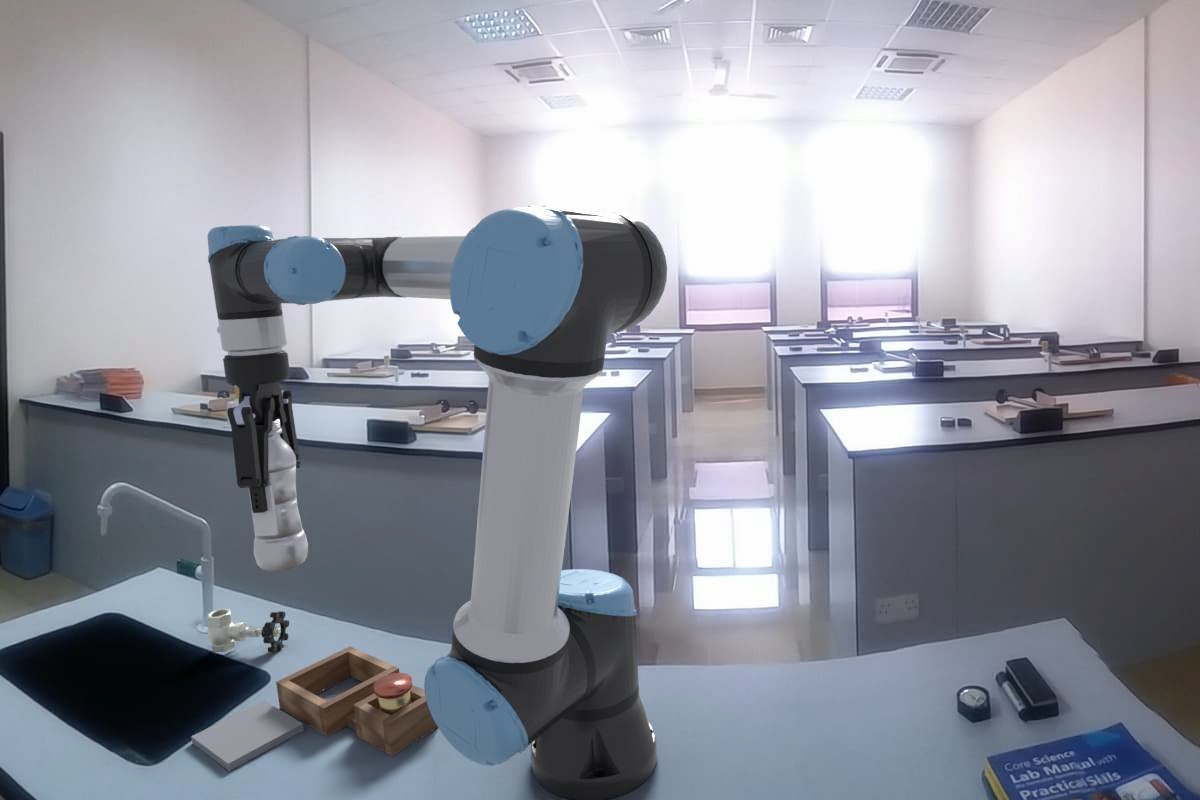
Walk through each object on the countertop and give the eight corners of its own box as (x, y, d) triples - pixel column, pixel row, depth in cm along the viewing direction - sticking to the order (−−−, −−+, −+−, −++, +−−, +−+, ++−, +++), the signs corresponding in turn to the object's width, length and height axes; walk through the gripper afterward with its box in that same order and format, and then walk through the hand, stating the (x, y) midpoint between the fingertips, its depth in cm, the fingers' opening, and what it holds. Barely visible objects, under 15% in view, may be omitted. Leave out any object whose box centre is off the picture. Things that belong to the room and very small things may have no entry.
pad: (303, 730, 102) (302, 723, 102) (229, 771, 94) (228, 763, 94) (265, 706, 108) (264, 700, 108) (192, 743, 101) (191, 736, 100)
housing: (451, 718, 103) (448, 687, 102) (377, 765, 94) (373, 732, 93) (353, 670, 117) (349, 643, 116) (279, 707, 108) (275, 678, 107)
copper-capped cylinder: (424, 725, 101) (419, 679, 100) (394, 744, 97) (388, 696, 96) (401, 714, 104) (396, 669, 103) (371, 731, 100) (365, 685, 99)
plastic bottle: (313, 569, 101) (294, 420, 97) (257, 581, 98) (236, 428, 94) (307, 554, 107) (290, 413, 103) (254, 565, 104) (234, 420, 100)
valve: (200, 661, 123) (271, 660, 122) (194, 622, 122) (266, 621, 121) (223, 641, 129) (292, 640, 128) (218, 604, 128) (287, 603, 127)
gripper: (258, 344, 106) (279, 504, 111) (185, 362, 88) (213, 554, 92) (312, 341, 106) (331, 502, 110) (250, 359, 88) (275, 551, 92)
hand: (277, 525), depth 101 cm, fingers closed on plastic bottle, 6 cm apart
